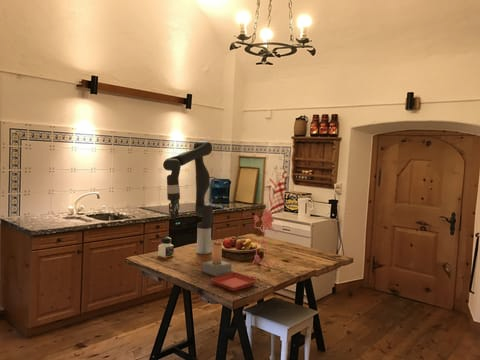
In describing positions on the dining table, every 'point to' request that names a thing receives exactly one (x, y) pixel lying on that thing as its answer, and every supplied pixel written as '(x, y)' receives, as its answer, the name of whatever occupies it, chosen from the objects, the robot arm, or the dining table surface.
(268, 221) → the figurine
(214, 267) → the grey lidded square box
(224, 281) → the plant saucer
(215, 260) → the jar
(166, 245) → the medicine bottle
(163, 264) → the dining table surface
